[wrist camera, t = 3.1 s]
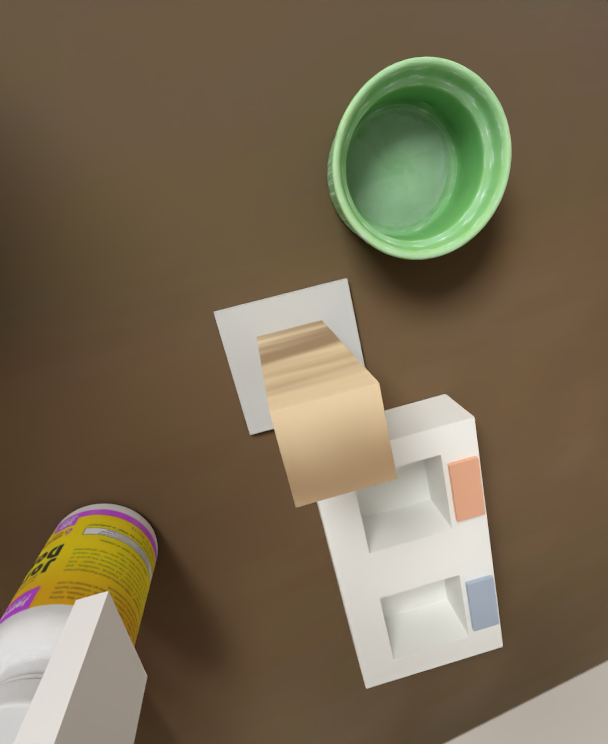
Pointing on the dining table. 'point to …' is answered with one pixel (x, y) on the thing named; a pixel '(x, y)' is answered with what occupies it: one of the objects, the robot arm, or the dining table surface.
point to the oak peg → (324, 414)
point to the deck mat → (276, 315)
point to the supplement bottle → (71, 596)
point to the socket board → (417, 549)
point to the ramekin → (420, 158)
